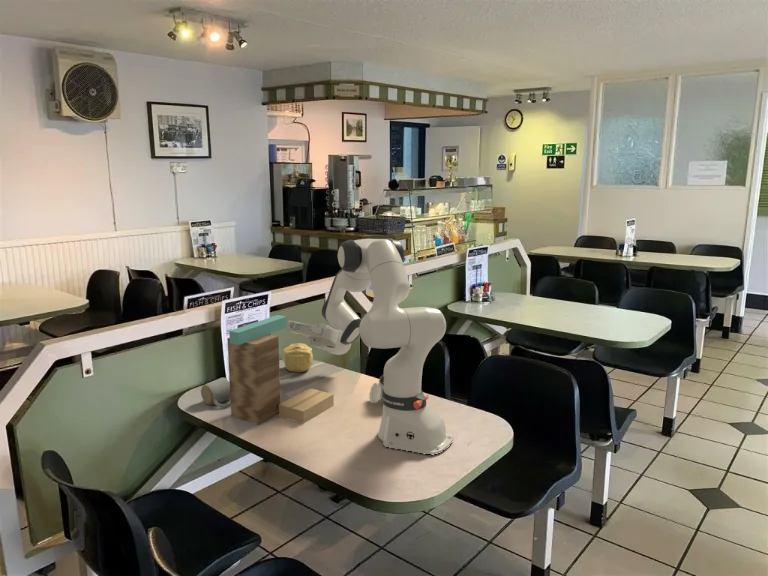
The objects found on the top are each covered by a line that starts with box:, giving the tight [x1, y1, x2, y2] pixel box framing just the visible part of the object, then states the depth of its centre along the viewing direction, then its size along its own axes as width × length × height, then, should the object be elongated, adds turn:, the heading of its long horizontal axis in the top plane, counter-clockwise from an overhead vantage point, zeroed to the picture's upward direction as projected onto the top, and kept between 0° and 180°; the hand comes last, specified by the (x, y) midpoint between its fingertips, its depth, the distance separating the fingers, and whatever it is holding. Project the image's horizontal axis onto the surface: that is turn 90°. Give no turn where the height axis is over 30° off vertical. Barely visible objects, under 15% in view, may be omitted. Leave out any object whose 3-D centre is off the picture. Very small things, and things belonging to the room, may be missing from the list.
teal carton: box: [228, 314, 288, 345], centre depth 185 cm, size 4×22×4 cm, turn 149°
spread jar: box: [369, 373, 384, 404], centre depth 198 cm, size 12×11×12 cm
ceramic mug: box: [200, 377, 231, 409], centre depth 196 cm, size 11×8×8 cm
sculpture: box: [282, 342, 314, 373], centre depth 228 cm, size 11×12×11 cm
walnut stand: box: [227, 334, 282, 426], centre depth 186 cm, size 12×10×26 cm
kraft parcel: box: [278, 387, 335, 424], centre depth 191 cm, size 10×16×4 cm, turn 149°
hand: (299, 325), depth 202 cm, fingers open, 8 cm apart
